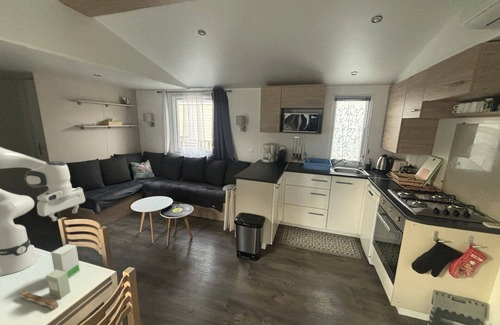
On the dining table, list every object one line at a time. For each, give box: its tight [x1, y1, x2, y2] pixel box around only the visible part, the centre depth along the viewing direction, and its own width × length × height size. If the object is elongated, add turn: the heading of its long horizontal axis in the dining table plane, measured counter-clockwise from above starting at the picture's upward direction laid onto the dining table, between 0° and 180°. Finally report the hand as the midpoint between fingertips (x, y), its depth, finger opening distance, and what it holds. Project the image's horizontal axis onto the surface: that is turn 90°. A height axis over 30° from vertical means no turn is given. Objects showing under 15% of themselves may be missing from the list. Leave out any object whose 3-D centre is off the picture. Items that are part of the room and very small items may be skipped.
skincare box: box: [50, 243, 81, 279], centre depth 107 cm, size 8×7×16 cm
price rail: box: [19, 290, 59, 311], centre depth 92 cm, size 22×2×2 cm, turn 75°
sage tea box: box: [46, 269, 71, 299], centre depth 96 cm, size 7×4×11 cm, turn 75°
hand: (65, 216), depth 108 cm, fingers open, 8 cm apart
